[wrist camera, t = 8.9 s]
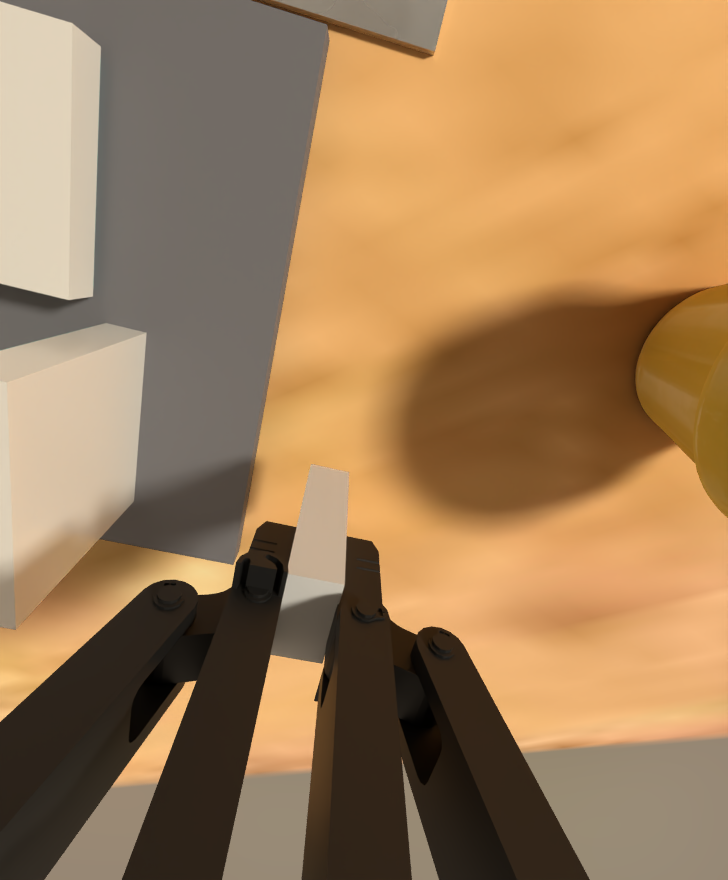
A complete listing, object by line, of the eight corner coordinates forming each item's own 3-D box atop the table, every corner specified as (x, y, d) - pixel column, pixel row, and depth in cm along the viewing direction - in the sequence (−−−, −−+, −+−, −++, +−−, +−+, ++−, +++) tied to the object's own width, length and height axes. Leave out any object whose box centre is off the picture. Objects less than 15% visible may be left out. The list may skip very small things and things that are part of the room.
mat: (-233, -137, 14) (-283, -170, 13) (329, 40, 16) (327, 24, 15) (-133, 477, 22) (-159, 489, 21) (238, 550, 24) (233, 564, 23)
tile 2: (95, 320, 18) (-81, 362, 11) (146, 332, 19) (6, 382, 11) (90, 492, 21) (-54, 618, 14) (134, 501, 22) (15, 629, 14)
